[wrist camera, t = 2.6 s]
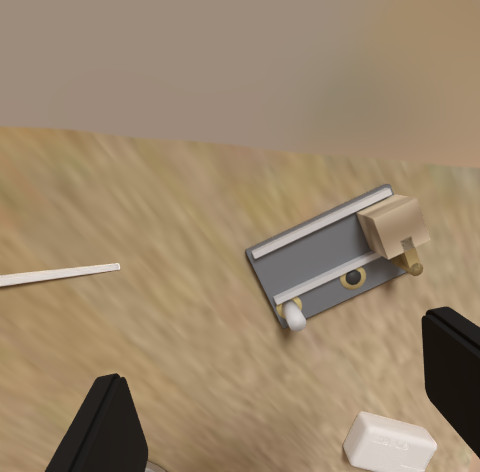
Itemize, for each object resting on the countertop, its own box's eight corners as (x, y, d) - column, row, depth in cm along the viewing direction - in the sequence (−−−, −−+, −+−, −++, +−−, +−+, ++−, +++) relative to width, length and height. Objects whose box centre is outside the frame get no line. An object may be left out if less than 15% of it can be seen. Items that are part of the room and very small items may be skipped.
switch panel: (413, 263, 34) (442, 278, 30) (281, 324, 34) (290, 348, 30) (384, 183, 32) (411, 187, 28) (245, 249, 32) (249, 263, 28)
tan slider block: (415, 254, 33) (439, 265, 29) (378, 272, 33) (397, 284, 29) (394, 194, 31) (416, 198, 28) (355, 212, 31) (373, 218, 28)
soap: (339, 445, 39) (349, 468, 36) (357, 407, 38) (369, 427, 35) (405, 462, 40) (420, 485, 37) (425, 425, 39) (442, 446, 36)
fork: (126, 279, 33) (121, 285, 31) (-85, 306, 32) (-103, 315, 30) (120, 248, 32) (114, 253, 31) (-96, 274, 31) (-116, 281, 29)
